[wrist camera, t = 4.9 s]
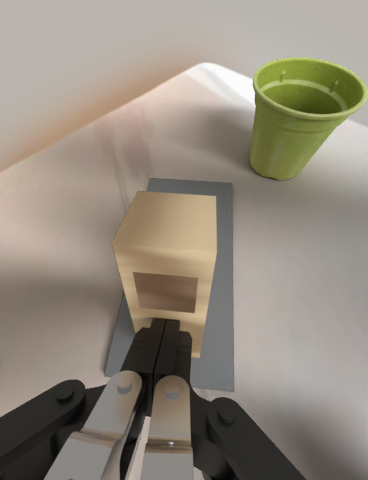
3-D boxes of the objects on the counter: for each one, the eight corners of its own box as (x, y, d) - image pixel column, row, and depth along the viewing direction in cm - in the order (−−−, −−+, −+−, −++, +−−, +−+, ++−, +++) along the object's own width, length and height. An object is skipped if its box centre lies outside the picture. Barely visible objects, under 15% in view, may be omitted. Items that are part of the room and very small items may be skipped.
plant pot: (334, 173, 26) (394, 92, 18) (270, 205, 24) (308, 128, 16) (278, 129, 30) (309, 48, 22) (219, 153, 28) (231, 73, 20)
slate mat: (231, 186, 25) (232, 183, 24) (232, 391, 16) (234, 391, 15) (151, 181, 25) (150, 178, 25) (105, 376, 16) (103, 376, 16)
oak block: (201, 305, 18) (215, 196, 11) (199, 358, 15) (216, 252, 8) (152, 300, 18) (138, 190, 12) (140, 352, 15) (111, 243, 9)
